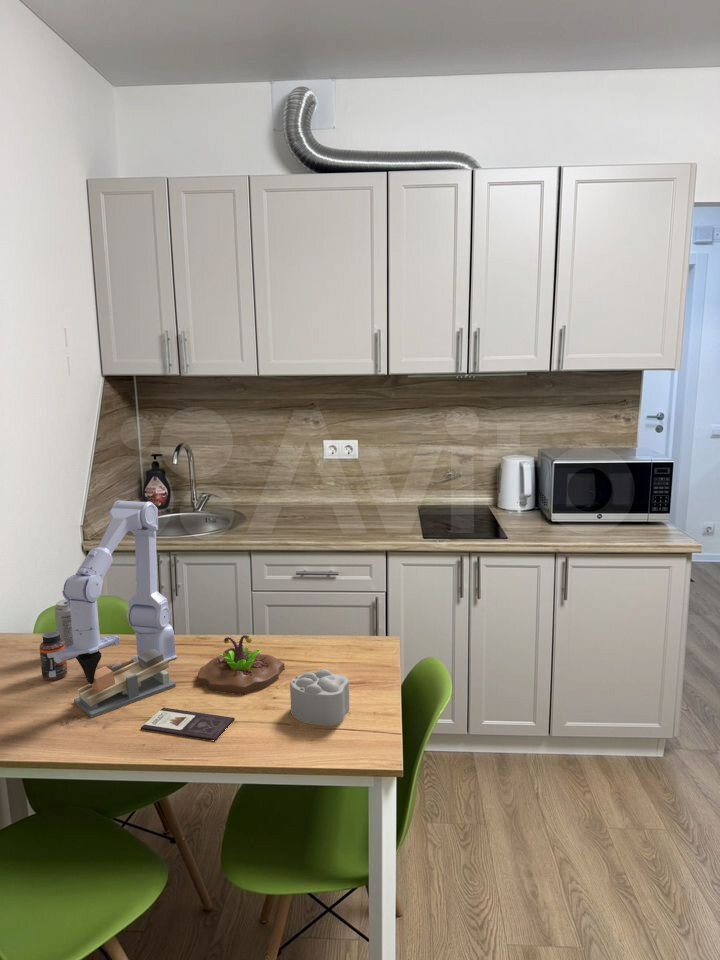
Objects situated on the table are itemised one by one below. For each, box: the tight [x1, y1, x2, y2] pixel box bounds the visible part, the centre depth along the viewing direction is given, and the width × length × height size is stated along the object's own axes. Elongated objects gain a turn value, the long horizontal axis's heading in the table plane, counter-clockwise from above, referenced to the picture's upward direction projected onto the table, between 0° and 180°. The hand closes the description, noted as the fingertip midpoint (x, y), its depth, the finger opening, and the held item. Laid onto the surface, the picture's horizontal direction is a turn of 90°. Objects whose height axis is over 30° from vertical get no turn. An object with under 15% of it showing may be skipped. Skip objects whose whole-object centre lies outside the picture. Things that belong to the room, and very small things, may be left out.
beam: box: [77, 649, 170, 706], centre depth 169 cm, size 20×6×5 cm, turn 133°
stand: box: [73, 663, 177, 719], centre depth 170 cm, size 21×10×6 cm, turn 133°
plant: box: [197, 634, 286, 696], centre depth 178 cm, size 20×20×11 cm
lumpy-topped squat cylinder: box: [289, 668, 350, 727], centre depth 160 cm, size 10×13×9 cm
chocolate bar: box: [140, 707, 235, 742], centre depth 156 cm, size 9×1×18 cm
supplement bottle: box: [39, 631, 68, 681], centre depth 179 cm, size 6×6×11 cm
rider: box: [92, 665, 115, 692], centre depth 165 cm, size 4×4×4 cm
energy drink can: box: [54, 599, 75, 659], centre depth 191 cm, size 6×6×15 cm
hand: (90, 682), depth 163 cm, fingers closed
